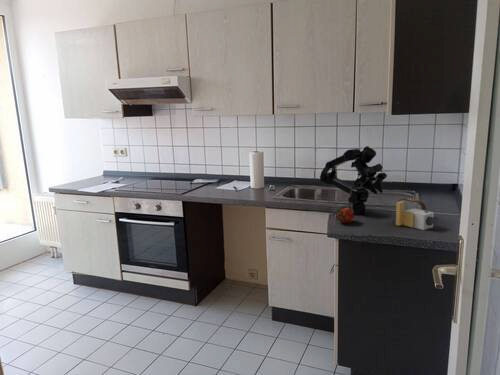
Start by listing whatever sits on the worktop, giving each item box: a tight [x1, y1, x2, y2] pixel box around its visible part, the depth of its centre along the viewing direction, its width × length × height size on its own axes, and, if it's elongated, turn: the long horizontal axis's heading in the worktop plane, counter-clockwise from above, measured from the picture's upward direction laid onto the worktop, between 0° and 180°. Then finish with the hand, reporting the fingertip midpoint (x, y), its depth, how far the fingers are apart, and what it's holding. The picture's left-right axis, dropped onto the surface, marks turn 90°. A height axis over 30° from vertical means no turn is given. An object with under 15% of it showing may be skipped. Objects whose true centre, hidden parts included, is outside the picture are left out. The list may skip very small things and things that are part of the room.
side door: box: [395, 201, 414, 228], centre depth 181 cm, size 7×4×11 cm, turn 30°
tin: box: [397, 197, 427, 212], centre depth 200 cm, size 15×3×8 cm, turn 35°
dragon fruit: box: [335, 206, 356, 224], centre depth 191 cm, size 8×8×12 cm
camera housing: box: [405, 209, 435, 231], centre depth 180 cm, size 11×7×8 cm, turn 30°
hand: (379, 193), depth 192 cm, fingers open, 3 cm apart
